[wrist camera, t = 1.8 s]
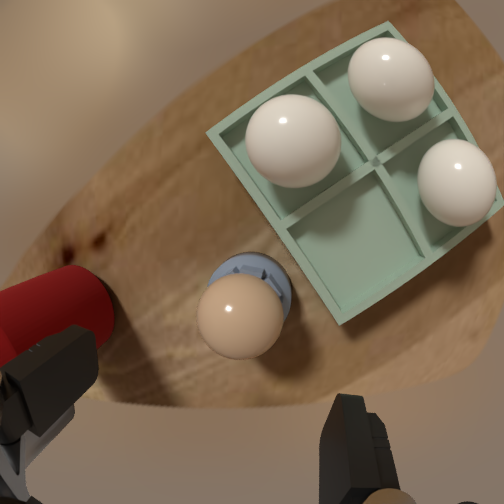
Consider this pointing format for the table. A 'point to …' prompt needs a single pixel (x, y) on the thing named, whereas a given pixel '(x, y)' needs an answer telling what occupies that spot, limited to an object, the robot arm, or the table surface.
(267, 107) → the white egg
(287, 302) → the egg cup
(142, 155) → the table surface
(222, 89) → the table surface
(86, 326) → the beverage can
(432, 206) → the white egg
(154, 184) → the table surface
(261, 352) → the brown egg
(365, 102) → the white egg
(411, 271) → the egg carton
